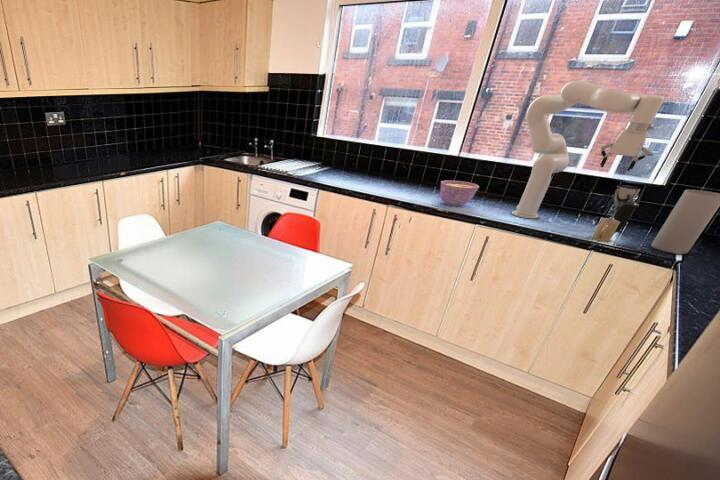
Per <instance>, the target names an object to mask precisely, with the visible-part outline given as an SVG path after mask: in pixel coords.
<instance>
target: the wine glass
mask: <svg viewBox="0 0 720 480" xmlns="http://www.w3.org/2000/svg"><path fill="white" fill-rule="evenodd" d="M640 191H641V187H638V186H633V185H625V184H618V185H617V186H616V187H615V190H614V192H613V196H612V199H613V202H614V205H615V209H614V211H613V213H612V215H611V217H601V218H600V220H601V219H602V220H604V221H608V222H614V223H620V221H618V220H616V219H614V216H615V214H616V212H617V211H618V210H619V208H621V207H622V206H624V205H625V204H627V203H629V202H631V201H633V200H634V199H635V198H636V197H637V195H638V194H639V192H640Z"/></svg>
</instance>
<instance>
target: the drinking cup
mask: <svg viewBox="0 0 720 480" xmlns="http://www.w3.org/2000/svg"><path fill="white" fill-rule="evenodd" d="M639 206H640V205H639V203H638V202H636V201H633V200H632V201H631V202H629V203H627V204H625V205H624V206H622V207H621V208H619V210H618V211H617V212H616V214H615V216H614V219H616V220H618V221H620V224H619V226H618V227H617V229H616V231H615V233H620V232H621V230H622V229H623V227H624V226H625V225H626V224H627V222H628V220H629V219H630V217H631V216H632V215H633V213H634V212H635V210H636V209H637V207H639Z"/></svg>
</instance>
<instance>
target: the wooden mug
mask: <svg viewBox="0 0 720 480" xmlns="http://www.w3.org/2000/svg"><path fill="white" fill-rule="evenodd" d="M619 224H620V223H614V222H608V221H604V220H602V219H601V218H600V220H599V222H598V224H597V226H596V228H595V230H594V231H593V233H592V235H591V239H592V240H595V241H599V242H610V241H611V240H612V238H613V237H614V234H615V233H616V232H615V231H616V229H617V227H618V226H619Z"/></svg>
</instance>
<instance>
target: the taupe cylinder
mask: <svg viewBox="0 0 720 480" xmlns="http://www.w3.org/2000/svg"><path fill="white" fill-rule="evenodd" d="M719 208H720V193H718V192H713V191H707V190H700V189H699V190H698V189H684V191H683V193H682V195H681V196H680V197H679V199H678V201H677V202H676V204H675V205H674V207H673V209H672V210H671V211H670V213H669V215H668V217H667V218H666V220H665V222H664V223H663V225H662V226H661V228H660V230H659V231H658V233H657V234H656V235H655V237H654V239H653V240H652V242H651V244H650V247H651V248H652V249H654V250H657V251H659V252H663V253H668V254H672V255H673V254H674V255H685V254H688V253H689V251H690V250H691V249H692V247H693V246H694V245H695V244H696V241H697V240H698V239H699V237H700V235H701V234H702V232H703V231H704V230H705V228H706V227H707V225H708V224H709V222H710V221H711V219H712V218H713V217H714V216H715V213H716V212H717V211H718V209H719Z"/></svg>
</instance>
